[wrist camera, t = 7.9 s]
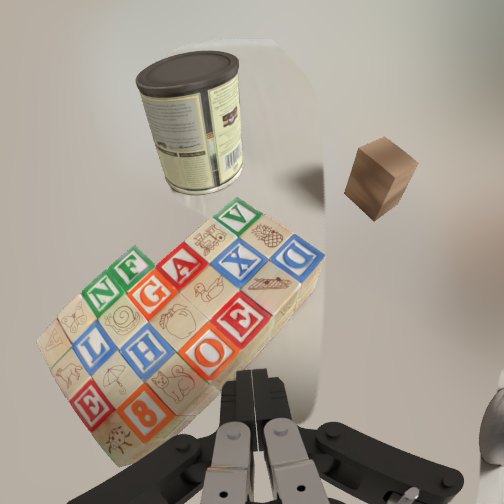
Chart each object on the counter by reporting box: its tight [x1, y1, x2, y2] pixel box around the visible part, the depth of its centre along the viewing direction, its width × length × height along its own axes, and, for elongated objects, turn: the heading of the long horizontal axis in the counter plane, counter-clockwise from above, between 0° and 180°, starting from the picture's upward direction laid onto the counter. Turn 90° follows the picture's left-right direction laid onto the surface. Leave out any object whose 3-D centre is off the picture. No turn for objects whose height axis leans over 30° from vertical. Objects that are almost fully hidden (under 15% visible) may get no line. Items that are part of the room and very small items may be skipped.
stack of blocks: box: [36, 197, 325, 467], centre depth 21 cm, size 21×6×12 cm
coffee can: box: [136, 51, 244, 195], centre depth 29 cm, size 10×10×14 cm
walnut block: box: [344, 137, 418, 221], centre depth 29 cm, size 5×5×7 cm
